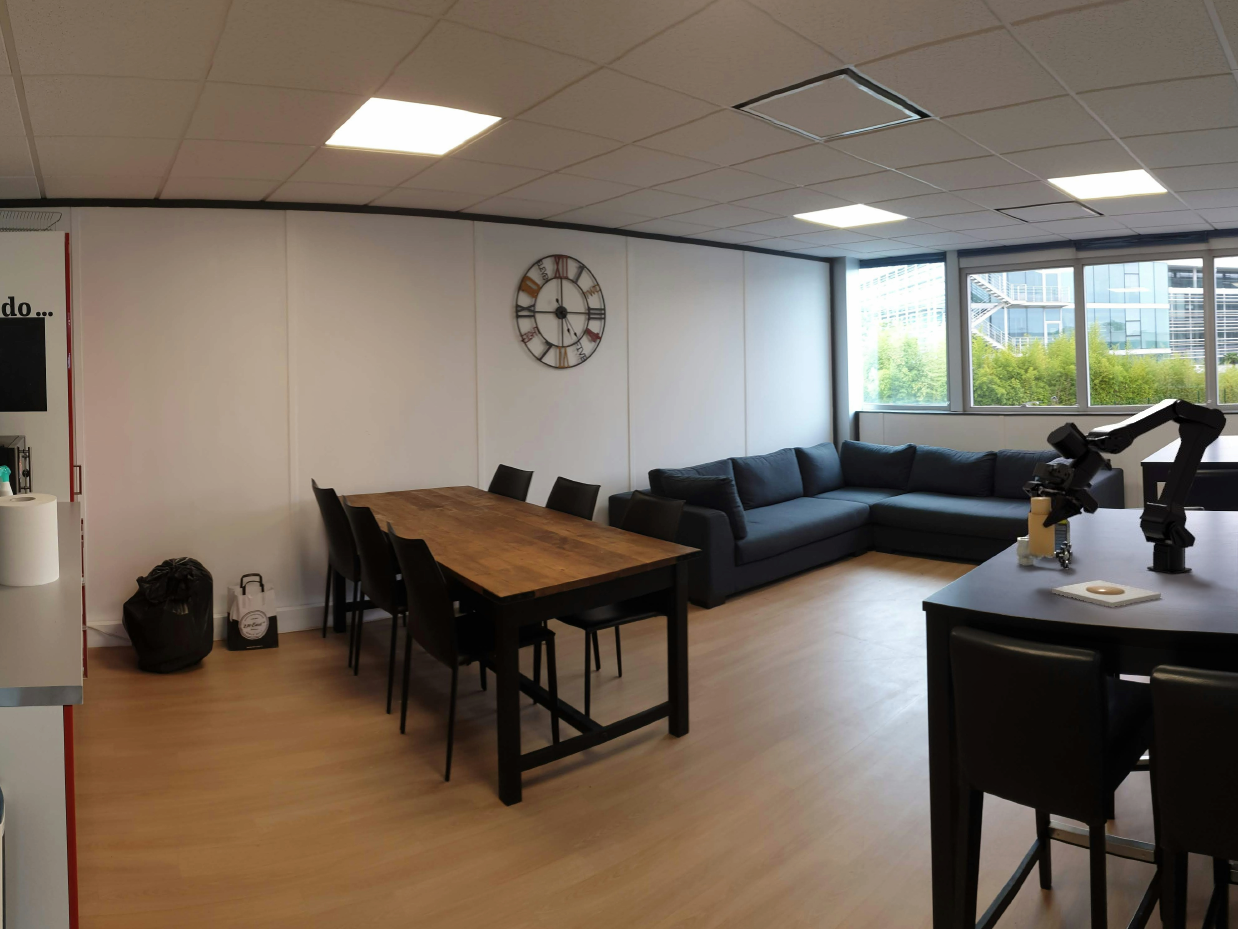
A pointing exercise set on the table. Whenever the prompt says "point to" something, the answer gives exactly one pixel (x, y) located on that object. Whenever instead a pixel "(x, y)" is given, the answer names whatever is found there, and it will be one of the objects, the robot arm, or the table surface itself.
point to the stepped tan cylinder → (1040, 528)
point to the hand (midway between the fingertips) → (1035, 524)
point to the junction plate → (1106, 593)
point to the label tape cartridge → (1061, 533)
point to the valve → (1027, 557)
